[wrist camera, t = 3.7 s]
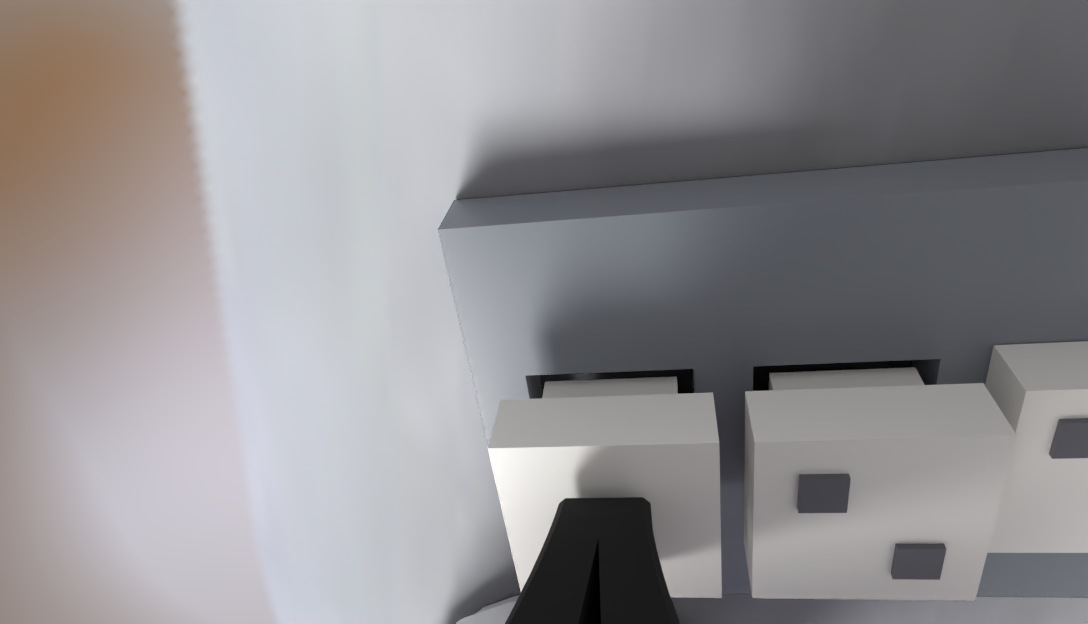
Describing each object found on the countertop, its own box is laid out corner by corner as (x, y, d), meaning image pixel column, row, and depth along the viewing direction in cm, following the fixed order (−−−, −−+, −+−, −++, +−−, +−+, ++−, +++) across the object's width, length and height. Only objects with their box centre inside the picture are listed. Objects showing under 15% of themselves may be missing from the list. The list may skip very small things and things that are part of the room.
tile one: (711, 494, 15) (722, 603, 12) (537, 496, 15) (520, 601, 13) (706, 349, 13) (720, 447, 11) (511, 358, 13) (486, 453, 11)
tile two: (927, 492, 14) (977, 607, 12) (737, 494, 15) (752, 603, 12) (955, 338, 12) (1020, 441, 10) (736, 348, 13) (755, 447, 11)
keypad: (1137, 549, 15) (1171, 598, 14) (528, 549, 18) (520, 591, 17) (1309, 129, 11) (1377, 158, 10) (453, 200, 13) (437, 229, 12)
